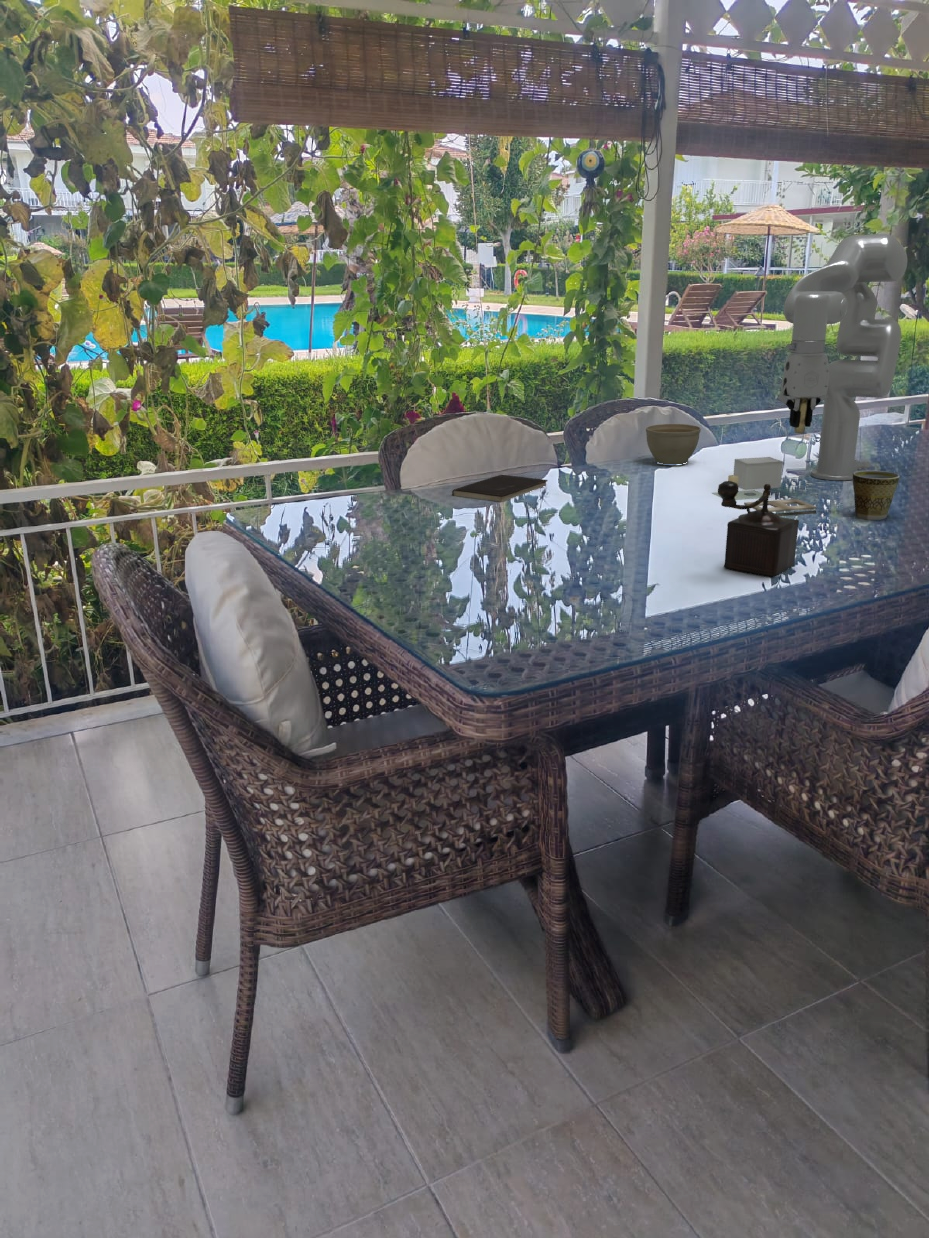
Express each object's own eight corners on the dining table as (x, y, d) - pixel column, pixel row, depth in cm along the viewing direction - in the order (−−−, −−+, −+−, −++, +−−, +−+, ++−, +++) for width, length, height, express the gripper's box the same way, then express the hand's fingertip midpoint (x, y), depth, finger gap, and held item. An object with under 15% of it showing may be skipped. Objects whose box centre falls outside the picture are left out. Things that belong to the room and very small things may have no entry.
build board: (796, 505, 232) (796, 498, 232) (816, 513, 224) (816, 506, 223) (743, 509, 230) (744, 502, 229) (761, 517, 221) (762, 510, 221)
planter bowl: (635, 461, 292) (636, 425, 288) (681, 457, 296) (683, 422, 293) (660, 470, 277) (662, 433, 274) (708, 466, 282) (711, 429, 278)
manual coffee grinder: (743, 556, 192) (750, 468, 186) (796, 565, 185) (805, 475, 179) (707, 574, 181) (713, 481, 175) (761, 585, 174) (770, 489, 168)
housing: (766, 486, 253) (769, 456, 251) (780, 491, 247) (782, 461, 244) (732, 488, 251) (734, 459, 249) (744, 494, 245) (747, 463, 242)
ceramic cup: (898, 522, 214) (904, 479, 211) (851, 521, 216) (857, 478, 213) (886, 509, 226) (891, 468, 223) (842, 508, 228) (847, 467, 225)
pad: (753, 494, 244) (755, 470, 242) (771, 502, 236) (773, 477, 234) (710, 497, 242) (712, 473, 240) (726, 505, 234) (728, 480, 232)
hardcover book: (547, 488, 260) (547, 480, 260) (502, 504, 243) (502, 495, 242) (499, 482, 269) (499, 474, 268) (452, 497, 252) (451, 489, 251)
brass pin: (801, 431, 231) (805, 394, 228) (806, 433, 229) (810, 395, 226) (792, 432, 231) (796, 395, 228) (797, 433, 229) (801, 396, 225)
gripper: (784, 350, 218) (777, 430, 224) (847, 348, 221) (838, 427, 227) (768, 348, 225) (762, 426, 231) (829, 345, 228) (821, 422, 234)
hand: (800, 425), depth 229 cm, fingers closed on brass pin, 2 cm apart
